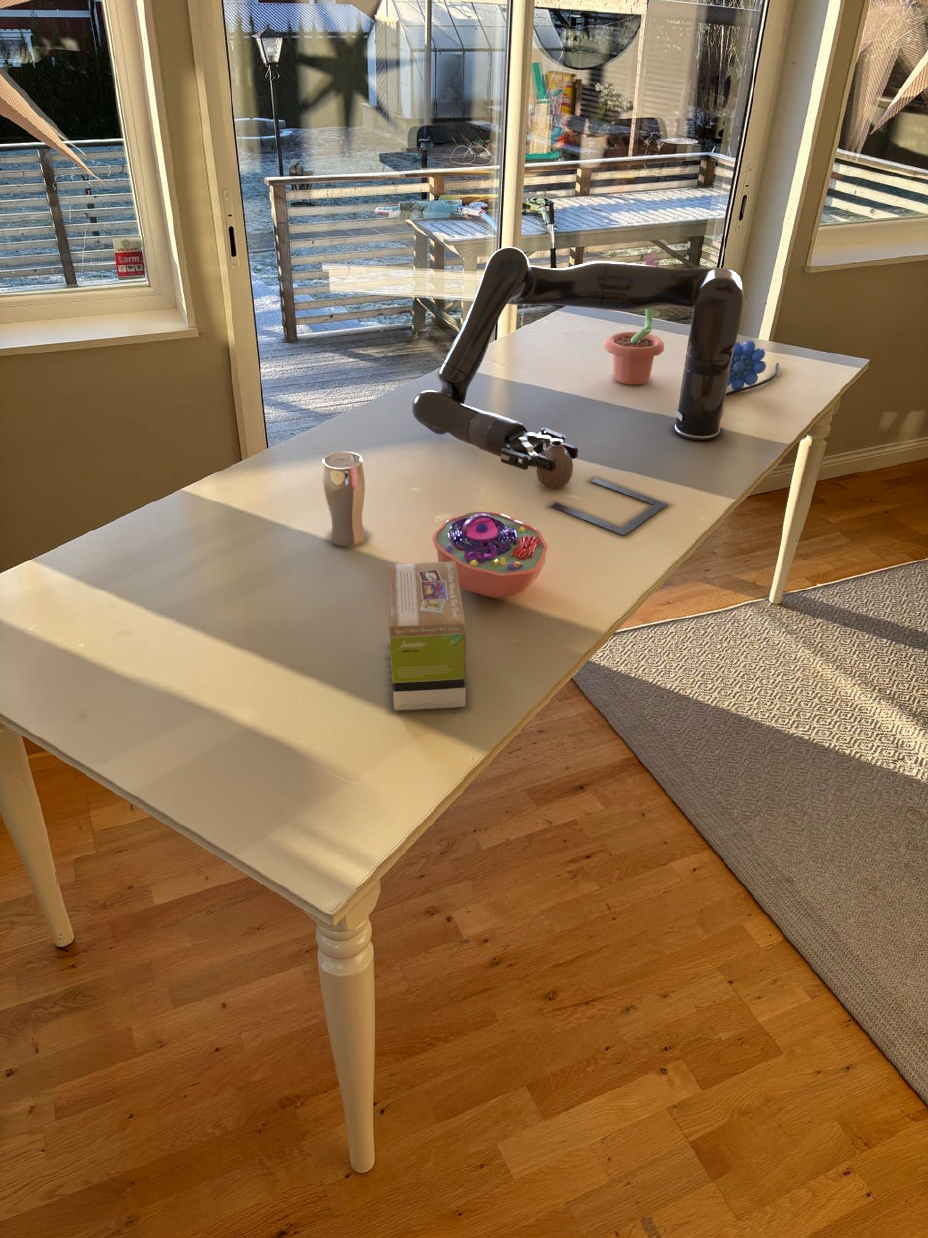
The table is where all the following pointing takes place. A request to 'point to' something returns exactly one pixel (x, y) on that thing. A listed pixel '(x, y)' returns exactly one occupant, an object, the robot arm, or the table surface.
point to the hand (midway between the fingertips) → (565, 459)
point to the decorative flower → (635, 347)
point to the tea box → (426, 636)
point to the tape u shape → (621, 531)
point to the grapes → (746, 365)
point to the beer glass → (345, 497)
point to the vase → (556, 466)
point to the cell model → (491, 553)
